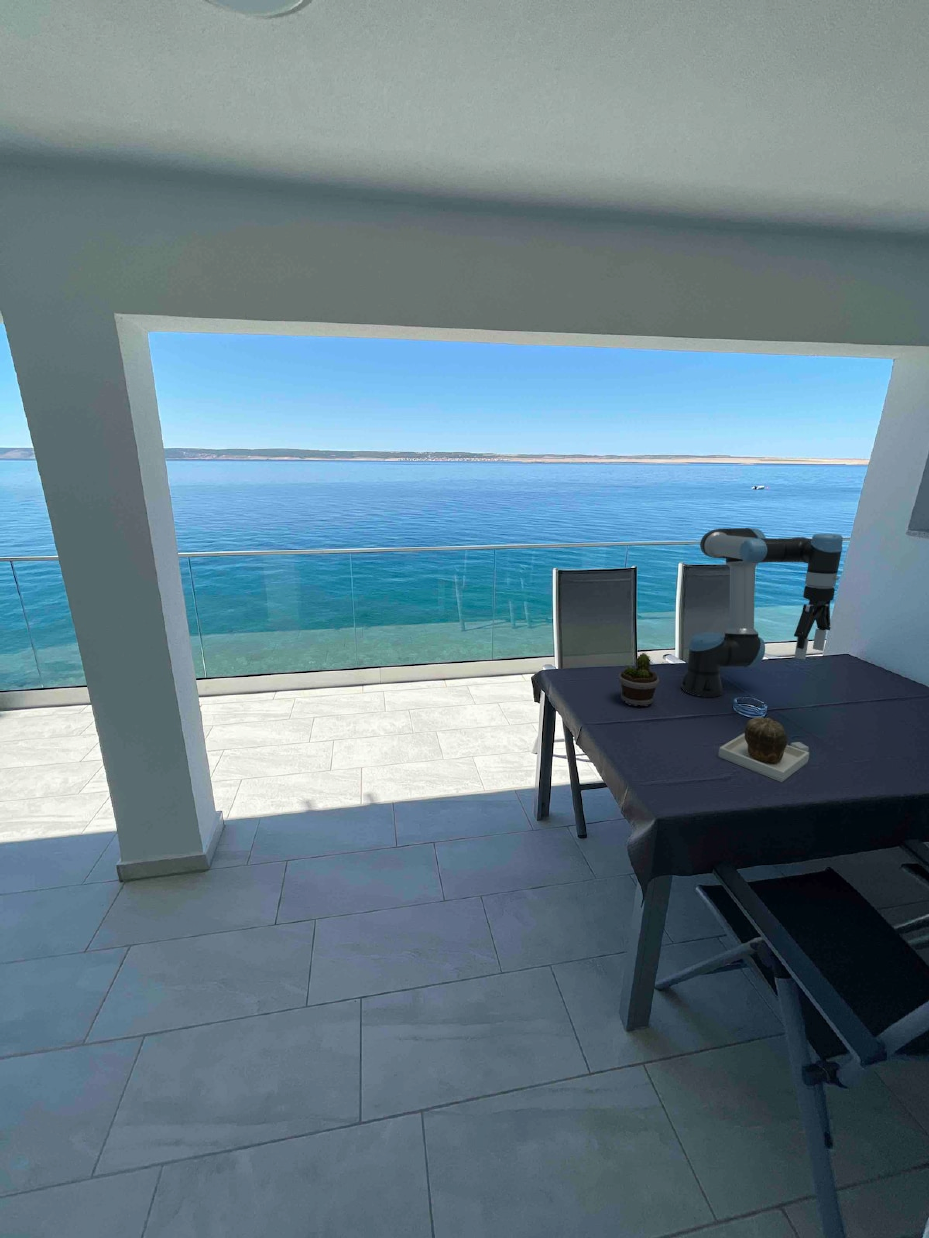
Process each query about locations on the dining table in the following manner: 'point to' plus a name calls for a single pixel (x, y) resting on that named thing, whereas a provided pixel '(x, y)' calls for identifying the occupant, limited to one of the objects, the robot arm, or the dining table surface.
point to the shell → (765, 740)
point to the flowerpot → (638, 682)
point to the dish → (780, 771)
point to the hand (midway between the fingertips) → (809, 653)
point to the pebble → (800, 746)
